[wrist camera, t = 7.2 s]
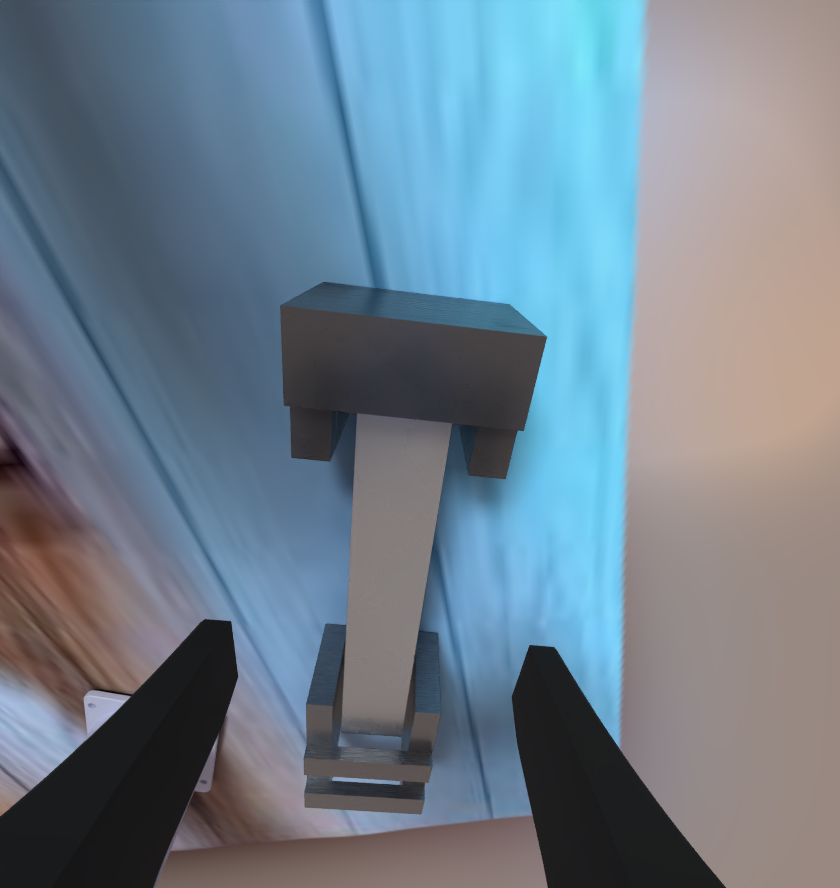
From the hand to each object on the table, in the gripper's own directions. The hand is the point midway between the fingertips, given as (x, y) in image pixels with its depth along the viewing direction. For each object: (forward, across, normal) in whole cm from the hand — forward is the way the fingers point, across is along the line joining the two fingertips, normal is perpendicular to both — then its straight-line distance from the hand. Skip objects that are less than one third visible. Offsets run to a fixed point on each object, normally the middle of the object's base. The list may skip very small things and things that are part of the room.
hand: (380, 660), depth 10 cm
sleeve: (+9, 0, +14) cm, 17 cm away
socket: (+9, 0, -5) cm, 11 cm away
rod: (+8, 0, +4) cm, 9 cm away
